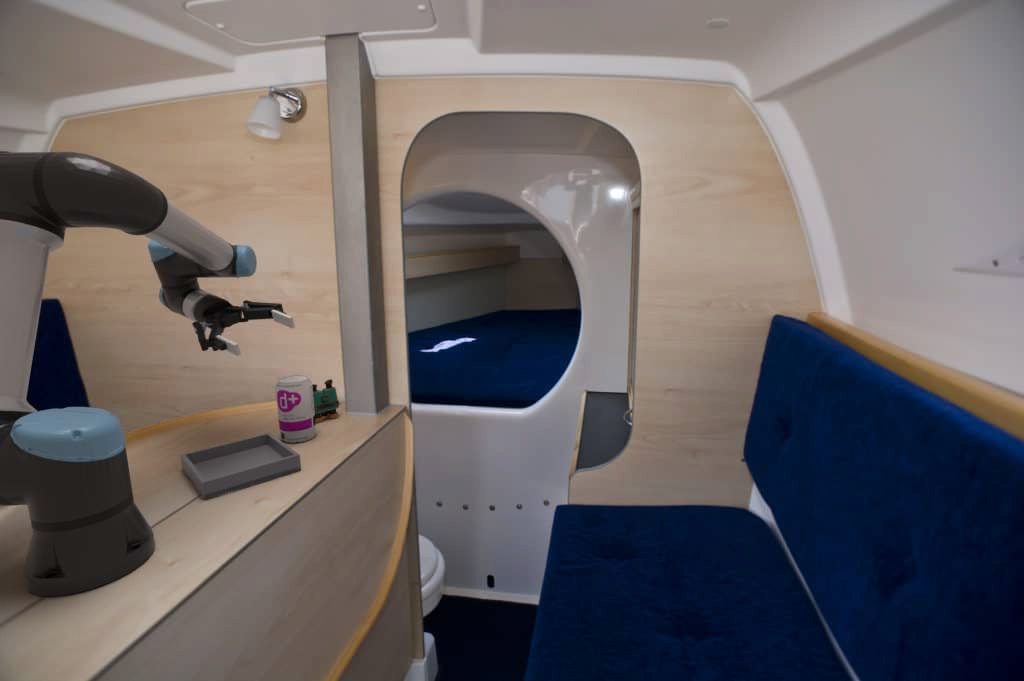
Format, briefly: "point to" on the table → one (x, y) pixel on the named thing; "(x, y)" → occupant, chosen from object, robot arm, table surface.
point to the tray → (239, 464)
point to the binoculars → (325, 401)
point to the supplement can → (295, 408)
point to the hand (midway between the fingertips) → (266, 335)
